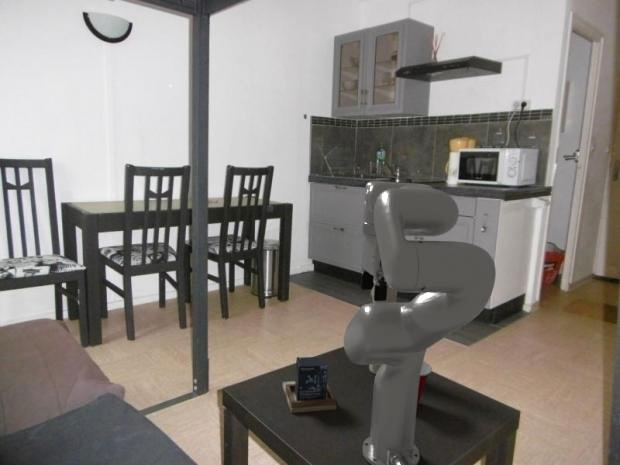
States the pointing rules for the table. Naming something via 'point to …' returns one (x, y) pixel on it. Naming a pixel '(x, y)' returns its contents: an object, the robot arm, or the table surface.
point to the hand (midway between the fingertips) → (373, 294)
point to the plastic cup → (423, 378)
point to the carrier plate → (307, 404)
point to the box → (311, 378)
